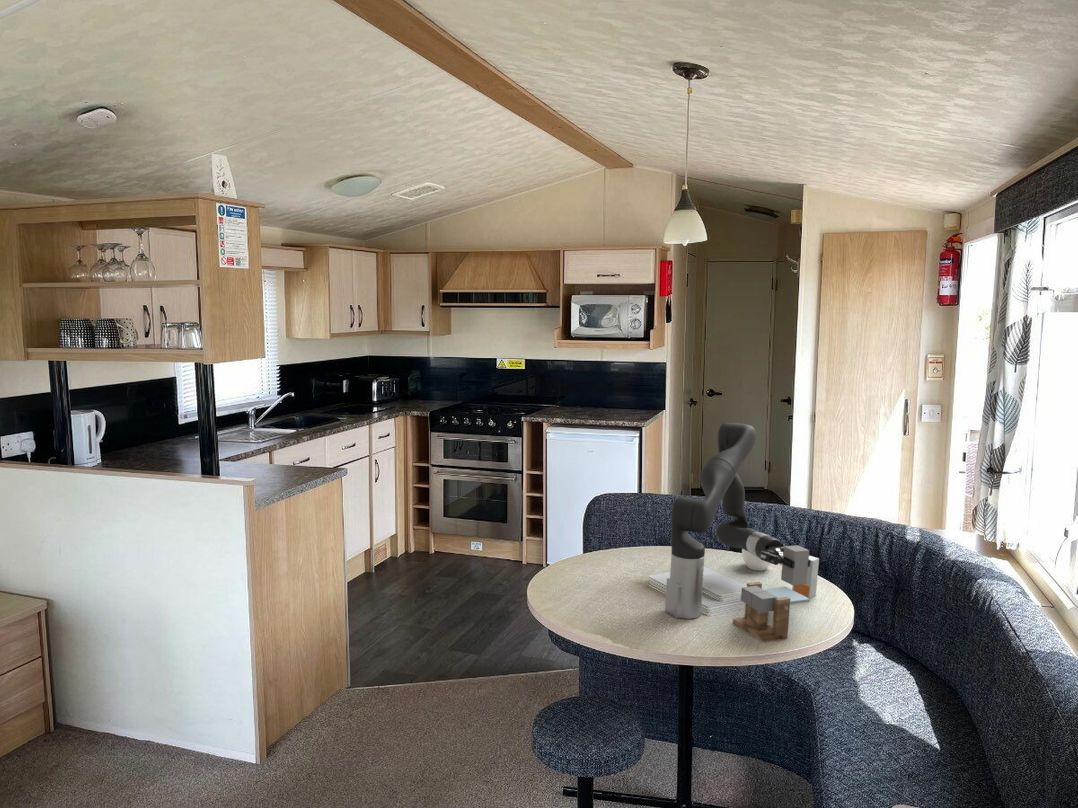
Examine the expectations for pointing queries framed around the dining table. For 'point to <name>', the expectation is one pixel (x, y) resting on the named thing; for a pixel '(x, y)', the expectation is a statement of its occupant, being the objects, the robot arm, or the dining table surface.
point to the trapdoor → (769, 597)
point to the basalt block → (801, 565)
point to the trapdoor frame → (758, 621)
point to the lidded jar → (754, 561)
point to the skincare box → (809, 580)
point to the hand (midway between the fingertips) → (801, 564)
